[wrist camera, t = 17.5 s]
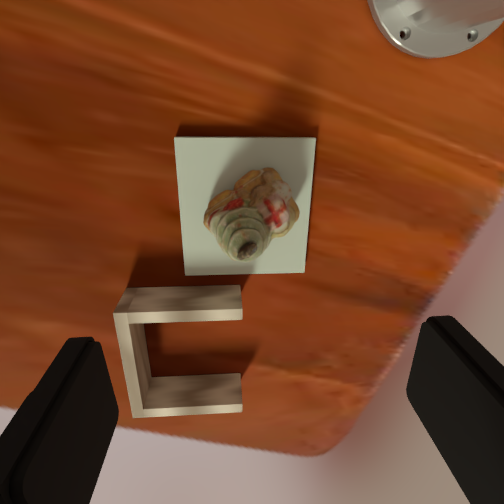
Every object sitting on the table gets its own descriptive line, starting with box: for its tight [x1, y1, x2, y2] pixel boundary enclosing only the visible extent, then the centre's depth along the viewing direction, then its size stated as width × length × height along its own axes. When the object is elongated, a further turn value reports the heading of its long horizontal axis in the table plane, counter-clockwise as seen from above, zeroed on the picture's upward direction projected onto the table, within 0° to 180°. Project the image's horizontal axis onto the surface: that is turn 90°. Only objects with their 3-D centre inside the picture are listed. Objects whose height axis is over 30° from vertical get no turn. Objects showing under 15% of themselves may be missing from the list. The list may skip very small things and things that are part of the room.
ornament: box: [203, 167, 300, 262], centre depth 26 cm, size 8×6×10 cm
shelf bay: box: [113, 285, 242, 418], centre depth 35 cm, size 12×13×4 cm
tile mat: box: [174, 136, 316, 276], centre depth 31 cm, size 12×13×1 cm
